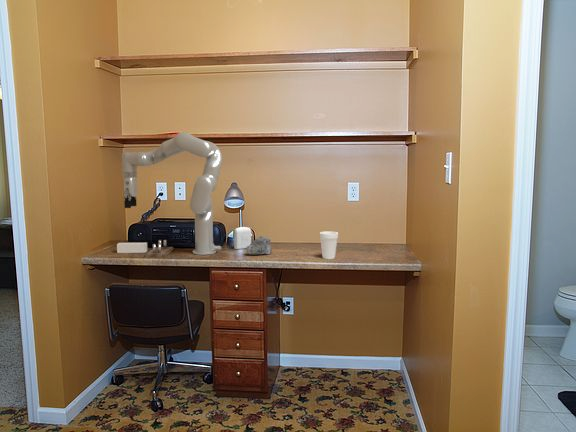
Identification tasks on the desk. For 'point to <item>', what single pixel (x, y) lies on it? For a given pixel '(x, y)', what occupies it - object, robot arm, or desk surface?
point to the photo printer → (242, 237)
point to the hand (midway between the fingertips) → (130, 207)
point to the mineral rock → (260, 246)
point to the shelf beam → (131, 247)
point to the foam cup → (328, 244)
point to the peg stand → (159, 250)
